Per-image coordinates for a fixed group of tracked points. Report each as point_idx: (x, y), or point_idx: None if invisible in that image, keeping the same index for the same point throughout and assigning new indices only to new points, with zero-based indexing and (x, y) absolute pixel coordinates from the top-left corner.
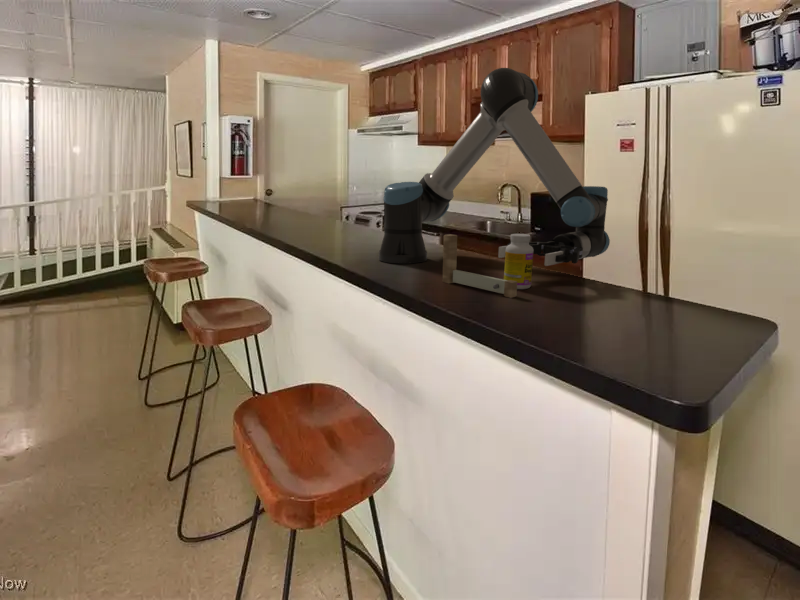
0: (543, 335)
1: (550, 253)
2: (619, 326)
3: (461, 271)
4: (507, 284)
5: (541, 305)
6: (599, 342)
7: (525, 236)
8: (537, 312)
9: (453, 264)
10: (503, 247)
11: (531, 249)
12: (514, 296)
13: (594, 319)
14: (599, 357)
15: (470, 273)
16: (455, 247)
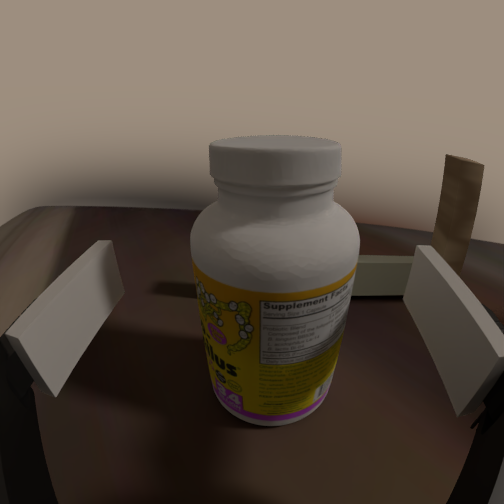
0: (106, 218)
1: (86, 257)
2: (17, 263)
3: (405, 259)
4: None
5: (124, 279)
6: (54, 229)
7: (220, 140)
8: (124, 253)
9: (438, 246)
10: (425, 259)
11: (193, 226)
12: None
13: (40, 268)
14: (62, 215)
15: (369, 257)
16: (452, 198)
